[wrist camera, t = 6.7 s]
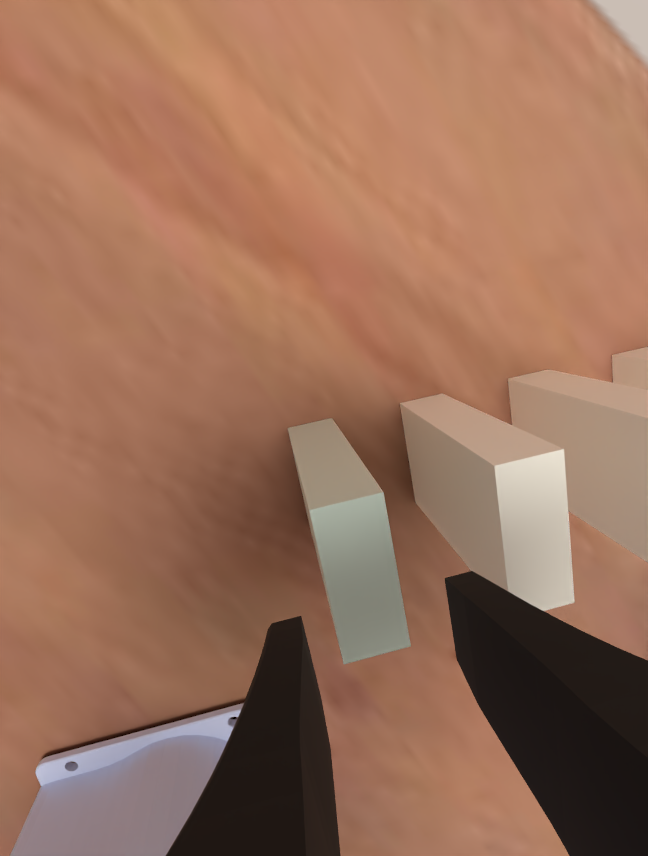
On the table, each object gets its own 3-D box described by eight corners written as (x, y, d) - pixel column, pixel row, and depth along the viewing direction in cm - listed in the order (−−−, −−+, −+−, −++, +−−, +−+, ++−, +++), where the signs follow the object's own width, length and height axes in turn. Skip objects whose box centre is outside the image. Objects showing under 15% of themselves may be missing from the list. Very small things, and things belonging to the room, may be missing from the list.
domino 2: (415, 502, 20) (511, 619, 13) (399, 403, 19) (494, 465, 12) (455, 492, 21) (574, 602, 13) (442, 393, 19) (563, 448, 12)
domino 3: (517, 477, 21) (669, 576, 13) (507, 378, 20) (668, 423, 12) (556, 468, 21) (729, 560, 13) (548, 369, 20) (733, 407, 12)
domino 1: (310, 527, 20) (343, 664, 12) (287, 428, 19) (308, 509, 11) (351, 517, 20) (411, 646, 13) (331, 417, 19) (383, 492, 11)
